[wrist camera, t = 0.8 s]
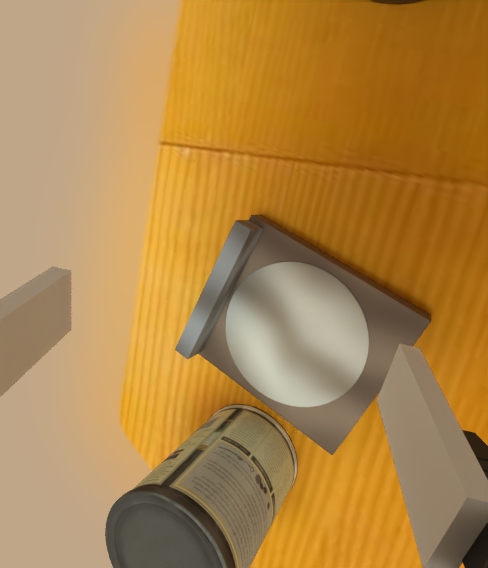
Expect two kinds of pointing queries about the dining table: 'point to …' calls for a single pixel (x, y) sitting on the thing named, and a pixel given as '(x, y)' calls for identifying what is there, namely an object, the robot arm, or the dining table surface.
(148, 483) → the coffee can
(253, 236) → the plate
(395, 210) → the dining table surface
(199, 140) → the dining table surface
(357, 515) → the dining table surface
